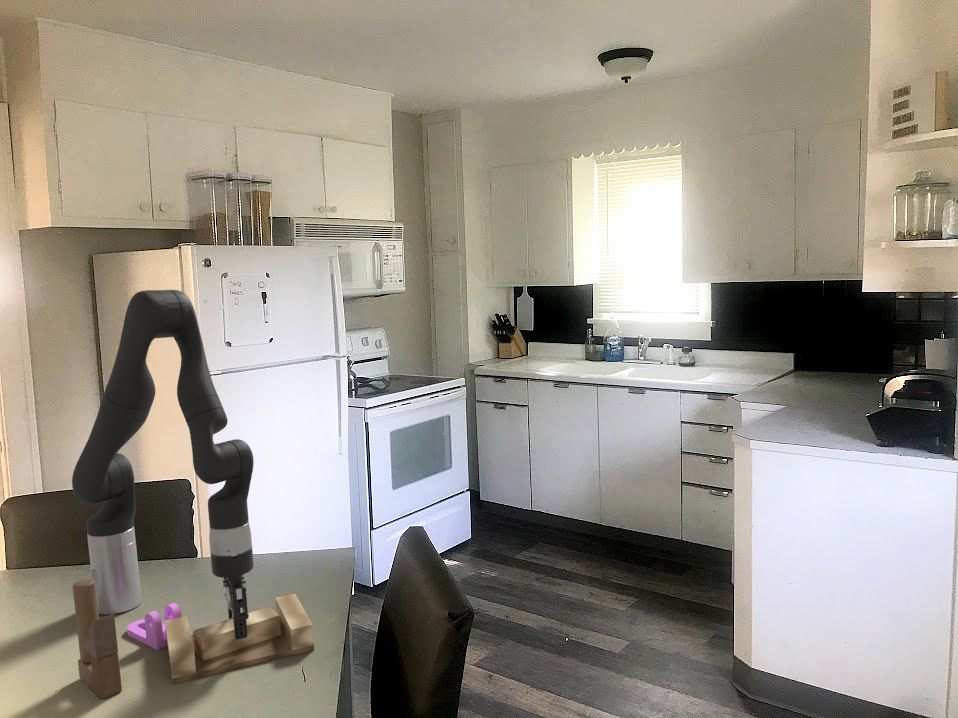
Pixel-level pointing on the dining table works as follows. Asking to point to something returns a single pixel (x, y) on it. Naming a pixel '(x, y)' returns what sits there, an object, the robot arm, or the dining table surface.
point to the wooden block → (96, 642)
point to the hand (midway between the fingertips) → (238, 628)
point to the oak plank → (223, 637)
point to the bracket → (154, 627)
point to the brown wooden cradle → (290, 642)
